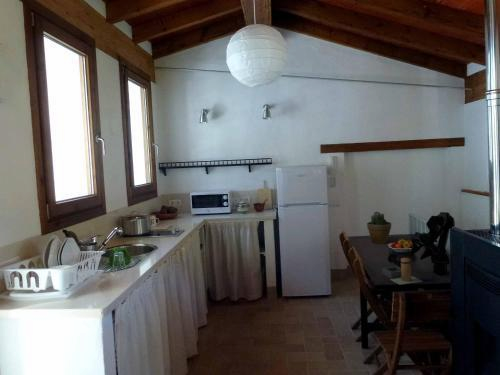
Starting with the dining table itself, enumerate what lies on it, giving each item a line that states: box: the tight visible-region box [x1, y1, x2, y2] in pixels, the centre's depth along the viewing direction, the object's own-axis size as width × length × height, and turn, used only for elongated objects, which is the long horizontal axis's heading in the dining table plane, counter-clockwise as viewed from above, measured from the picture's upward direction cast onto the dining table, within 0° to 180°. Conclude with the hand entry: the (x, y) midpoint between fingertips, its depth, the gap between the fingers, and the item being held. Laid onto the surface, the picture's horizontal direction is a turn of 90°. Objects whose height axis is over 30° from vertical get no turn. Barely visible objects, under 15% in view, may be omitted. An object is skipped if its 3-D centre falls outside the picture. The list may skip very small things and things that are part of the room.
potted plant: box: [366, 211, 392, 245], centre depth 306 cm, size 18×19×25 cm
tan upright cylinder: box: [400, 257, 412, 282], centre depth 213 cm, size 5×5×12 cm
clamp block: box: [381, 265, 402, 279], centre depth 225 cm, size 11×11×4 cm
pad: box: [389, 275, 423, 286], centre depth 214 cm, size 14×9×1 cm, turn 101°
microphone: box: [387, 253, 401, 268], centre depth 245 cm, size 6×6×20 cm
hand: (415, 257), depth 214 cm, fingers open, 9 cm apart
